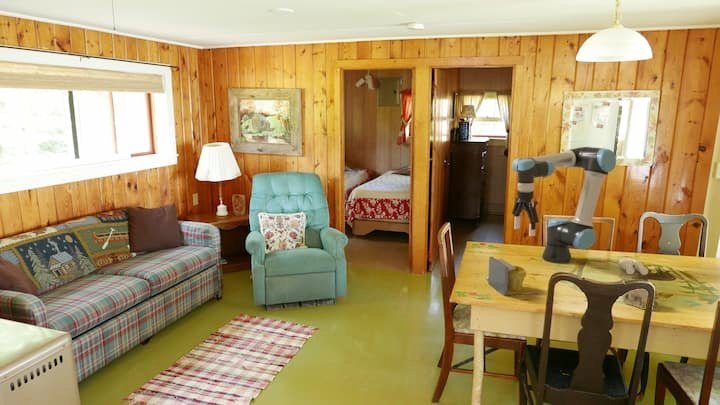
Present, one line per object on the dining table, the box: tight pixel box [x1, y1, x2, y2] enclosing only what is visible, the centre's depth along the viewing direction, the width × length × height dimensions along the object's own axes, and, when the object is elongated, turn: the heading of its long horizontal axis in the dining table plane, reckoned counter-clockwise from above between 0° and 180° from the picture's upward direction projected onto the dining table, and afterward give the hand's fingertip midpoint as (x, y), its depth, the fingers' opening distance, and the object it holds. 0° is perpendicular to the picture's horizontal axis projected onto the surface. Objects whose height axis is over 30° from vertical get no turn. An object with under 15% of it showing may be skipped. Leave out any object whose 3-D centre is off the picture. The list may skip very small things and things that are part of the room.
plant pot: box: [507, 265, 527, 291], centre depth 239 cm, size 10×10×10 cm
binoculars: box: [619, 258, 649, 276], centre depth 263 cm, size 10×16×5 cm, turn 169°
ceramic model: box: [622, 289, 659, 311], centre depth 218 cm, size 14×11×10 cm
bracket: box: [487, 256, 540, 297], centre depth 238 cm, size 18×18×14 cm
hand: (524, 232), depth 250 cm, fingers open, 13 cm apart
